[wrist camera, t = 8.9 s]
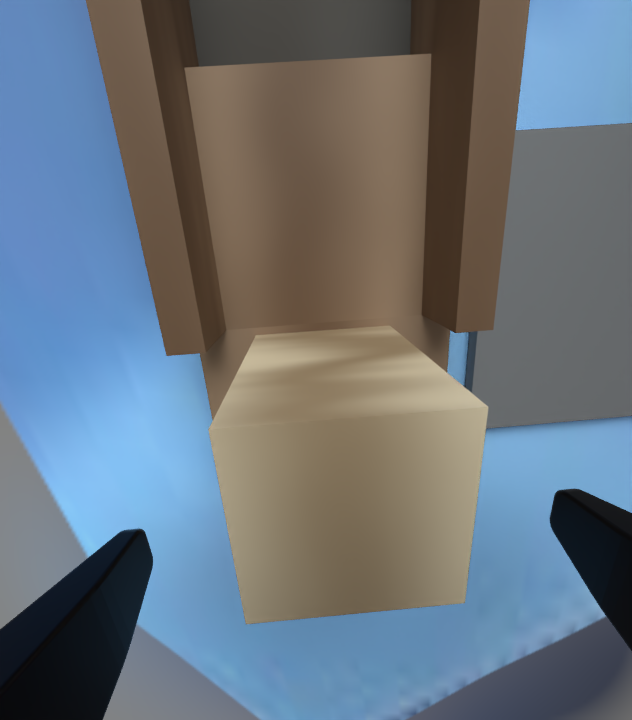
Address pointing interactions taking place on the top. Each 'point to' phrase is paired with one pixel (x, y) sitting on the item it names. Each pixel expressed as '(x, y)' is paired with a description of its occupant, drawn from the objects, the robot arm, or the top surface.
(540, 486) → the top surface
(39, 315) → the top surface
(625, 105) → the top surface
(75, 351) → the top surface
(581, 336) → the slate pad
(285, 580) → the maple block
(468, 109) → the walnut trough
